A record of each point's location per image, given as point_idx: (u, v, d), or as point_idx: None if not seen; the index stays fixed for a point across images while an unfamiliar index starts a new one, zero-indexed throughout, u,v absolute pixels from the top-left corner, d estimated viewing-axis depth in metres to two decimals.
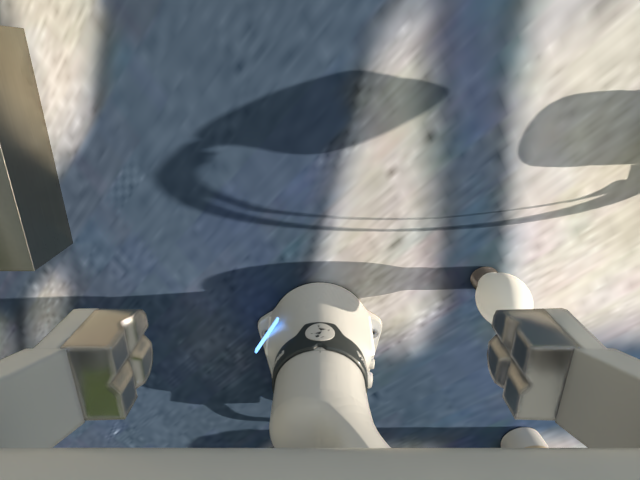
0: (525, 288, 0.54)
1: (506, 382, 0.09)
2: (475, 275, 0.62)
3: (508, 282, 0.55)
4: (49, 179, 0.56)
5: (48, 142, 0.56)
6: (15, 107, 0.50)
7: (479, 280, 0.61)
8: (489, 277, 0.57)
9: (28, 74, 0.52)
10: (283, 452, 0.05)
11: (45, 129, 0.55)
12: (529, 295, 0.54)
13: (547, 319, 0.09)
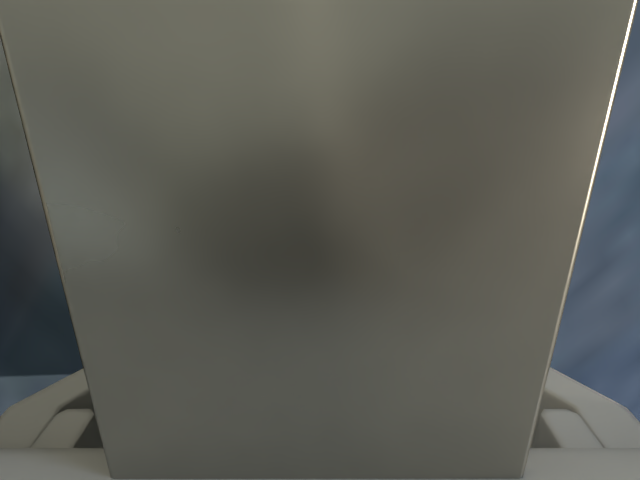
0: None
1: None
2: None
3: None
4: None
5: None
6: None
7: None
8: None
9: None
10: None
11: None
12: None
13: None
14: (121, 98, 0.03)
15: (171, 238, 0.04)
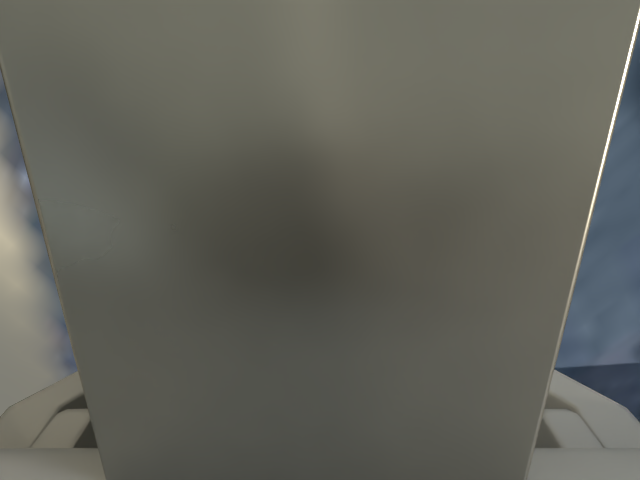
0: None
1: None
2: None
3: None
4: None
5: None
6: None
7: None
8: None
9: None
10: None
11: None
12: None
13: None
14: (115, 91, 0.03)
15: (166, 236, 0.03)
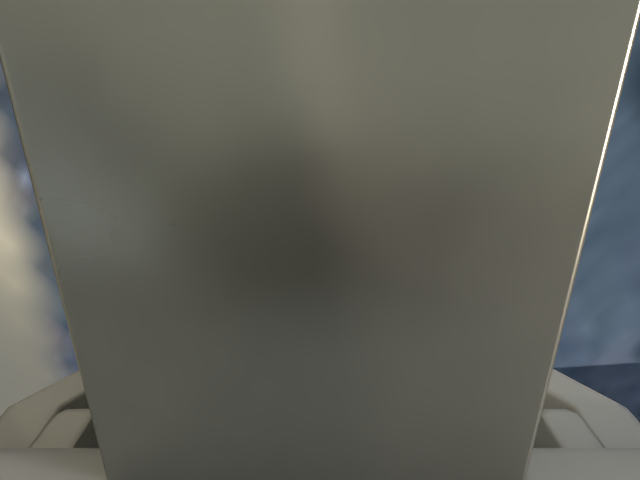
0: None
1: None
2: None
3: None
4: None
5: None
6: None
7: None
8: None
9: None
10: None
11: None
12: None
13: None
14: (115, 90, 0.03)
15: (166, 233, 0.03)
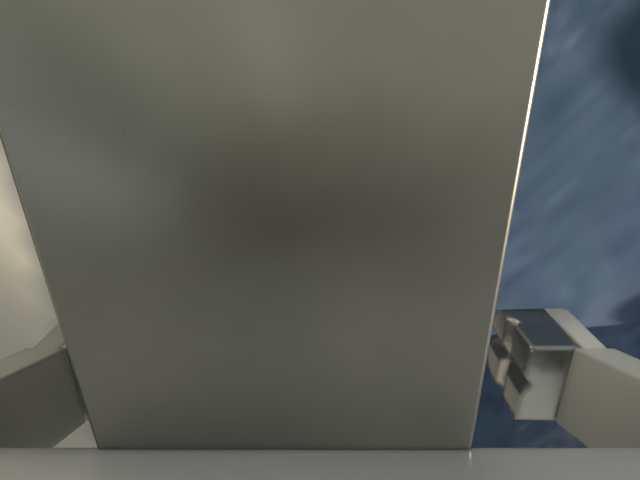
0: None
1: (506, 382, 0.09)
2: None
3: None
4: None
5: None
6: None
7: None
8: None
9: None
10: (283, 452, 0.05)
11: None
12: None
13: (547, 319, 0.09)
14: None
15: (120, 140, 0.04)
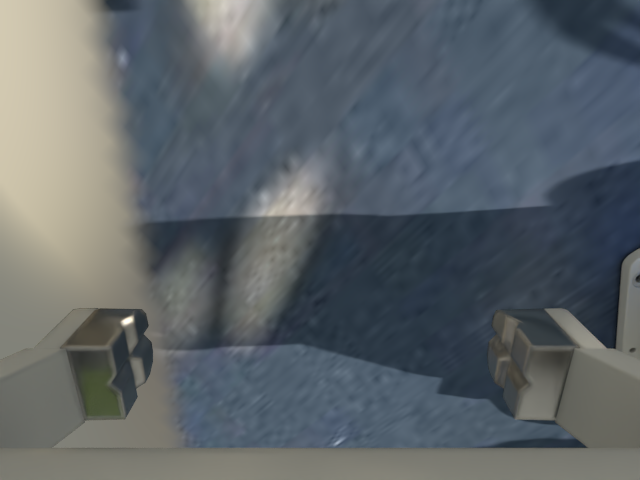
0: None
1: (506, 382, 0.09)
2: None
3: None
4: None
5: None
6: None
7: None
8: None
9: None
10: (283, 452, 0.05)
11: None
12: None
13: (547, 319, 0.09)
14: None
15: None
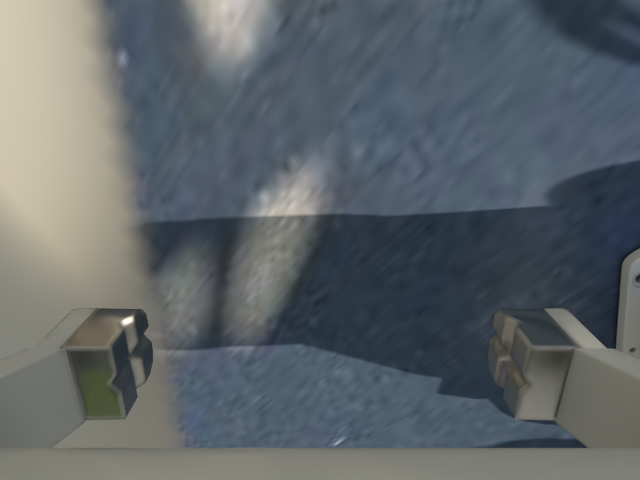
0: None
1: (506, 382, 0.09)
2: None
3: None
4: None
5: None
6: None
7: None
8: None
9: None
10: (283, 452, 0.05)
11: None
12: None
13: (547, 319, 0.09)
14: None
15: None
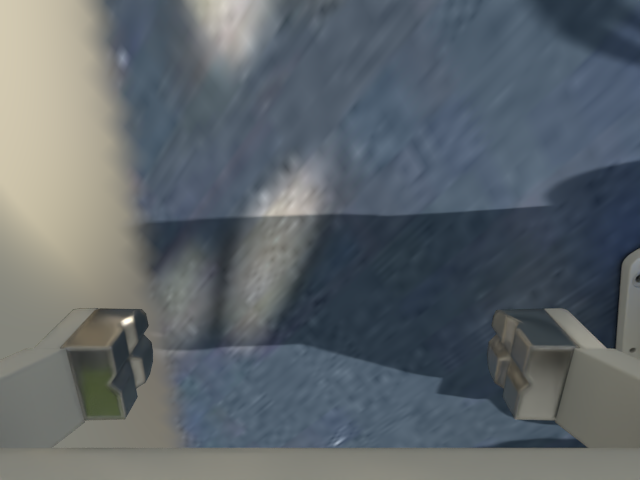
0: None
1: (506, 382, 0.09)
2: None
3: None
4: None
5: None
6: None
7: None
8: None
9: None
10: (283, 452, 0.05)
11: None
12: None
13: (547, 319, 0.09)
14: None
15: None
